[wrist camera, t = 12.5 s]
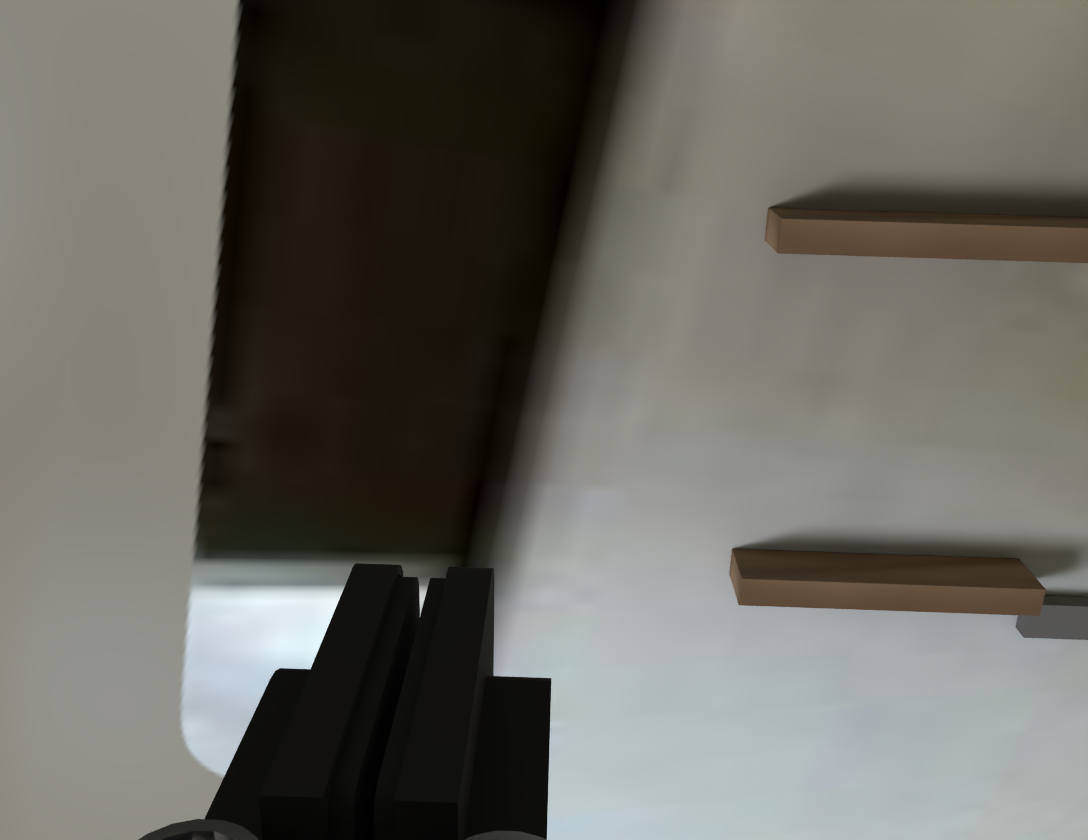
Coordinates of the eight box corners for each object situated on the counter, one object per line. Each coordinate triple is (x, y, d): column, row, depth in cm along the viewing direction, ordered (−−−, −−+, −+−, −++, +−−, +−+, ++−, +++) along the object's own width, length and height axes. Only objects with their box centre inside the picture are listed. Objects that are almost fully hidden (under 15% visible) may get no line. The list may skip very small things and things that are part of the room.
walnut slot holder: (768, 207, 37) (781, 218, 34) (1095, 217, 36) (1130, 229, 34) (729, 573, 42) (739, 605, 40) (1013, 583, 42) (1039, 615, 40)
